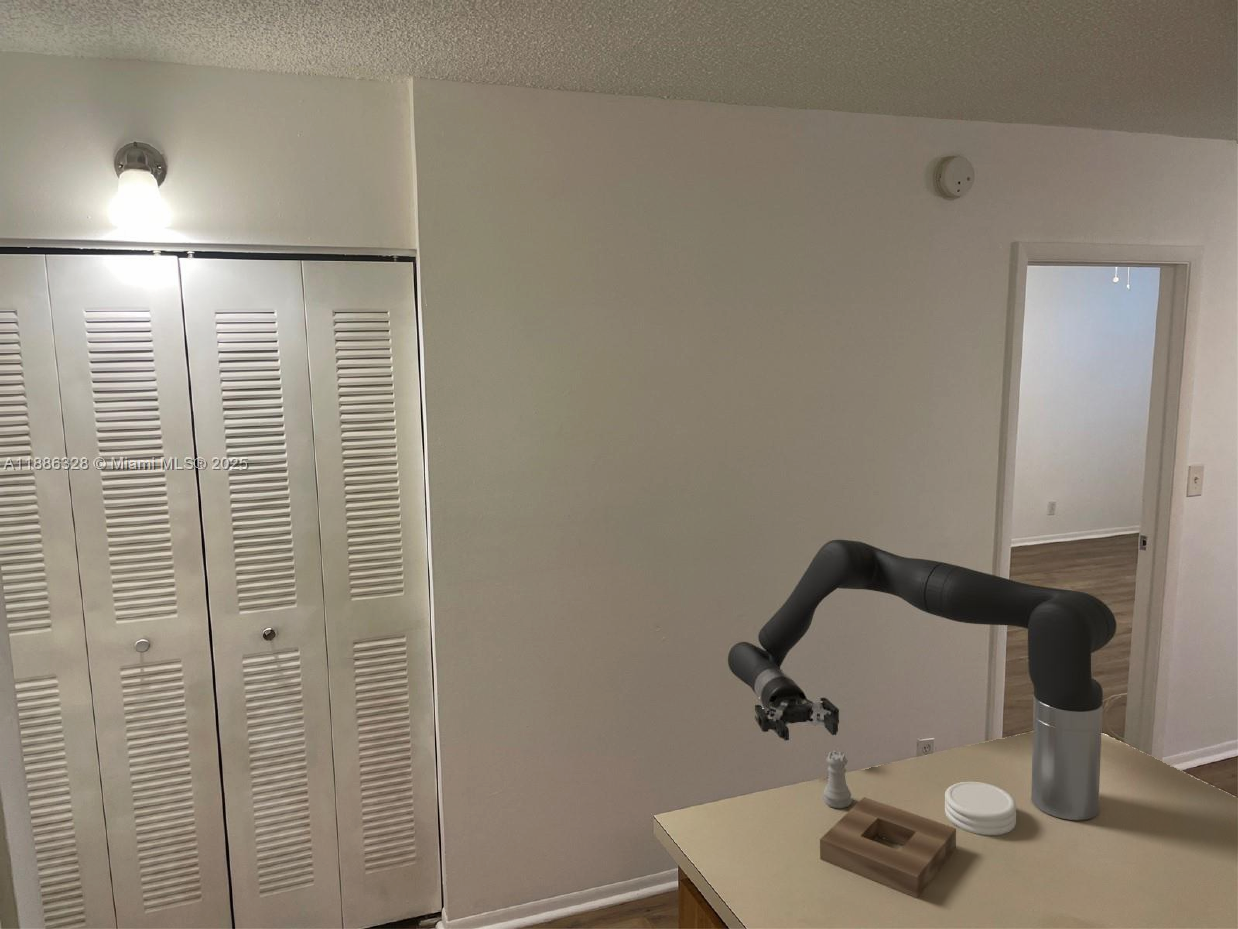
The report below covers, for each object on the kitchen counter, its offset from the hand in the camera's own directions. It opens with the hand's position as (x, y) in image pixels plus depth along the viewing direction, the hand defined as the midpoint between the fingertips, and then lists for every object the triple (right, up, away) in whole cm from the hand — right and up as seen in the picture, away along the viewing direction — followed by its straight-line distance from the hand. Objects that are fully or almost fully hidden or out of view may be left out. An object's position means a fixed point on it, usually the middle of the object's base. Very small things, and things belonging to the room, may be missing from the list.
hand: (811, 732), depth 143 cm
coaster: (+22, -8, -16) cm, 28 cm away
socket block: (+6, -10, -24) cm, 26 cm away
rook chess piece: (+2, -8, -10) cm, 13 cm away
